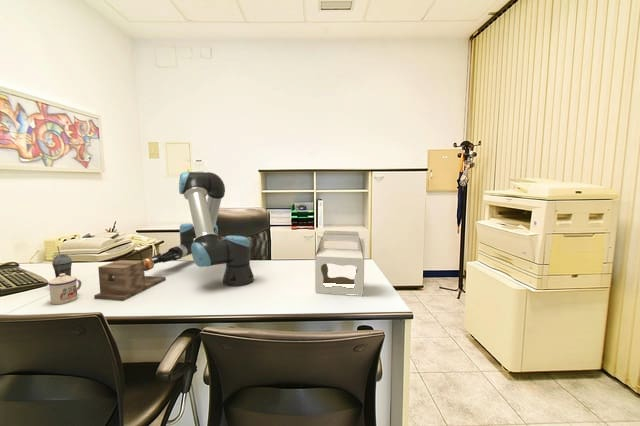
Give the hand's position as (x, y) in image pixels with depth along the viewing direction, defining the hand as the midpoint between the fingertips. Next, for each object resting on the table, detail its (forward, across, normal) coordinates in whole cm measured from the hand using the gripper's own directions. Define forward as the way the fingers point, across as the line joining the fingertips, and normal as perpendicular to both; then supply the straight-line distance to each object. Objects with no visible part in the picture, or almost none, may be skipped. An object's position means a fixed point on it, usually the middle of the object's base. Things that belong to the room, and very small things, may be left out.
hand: (147, 263), depth 149 cm
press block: (+11, -1, -9) cm, 14 cm away
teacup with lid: (+27, +17, -9) cm, 33 cm away
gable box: (-5, -98, -9) cm, 98 cm away
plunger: (+11, -1, -3) cm, 11 cm away
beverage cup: (+14, +34, -9) cm, 38 cm away
